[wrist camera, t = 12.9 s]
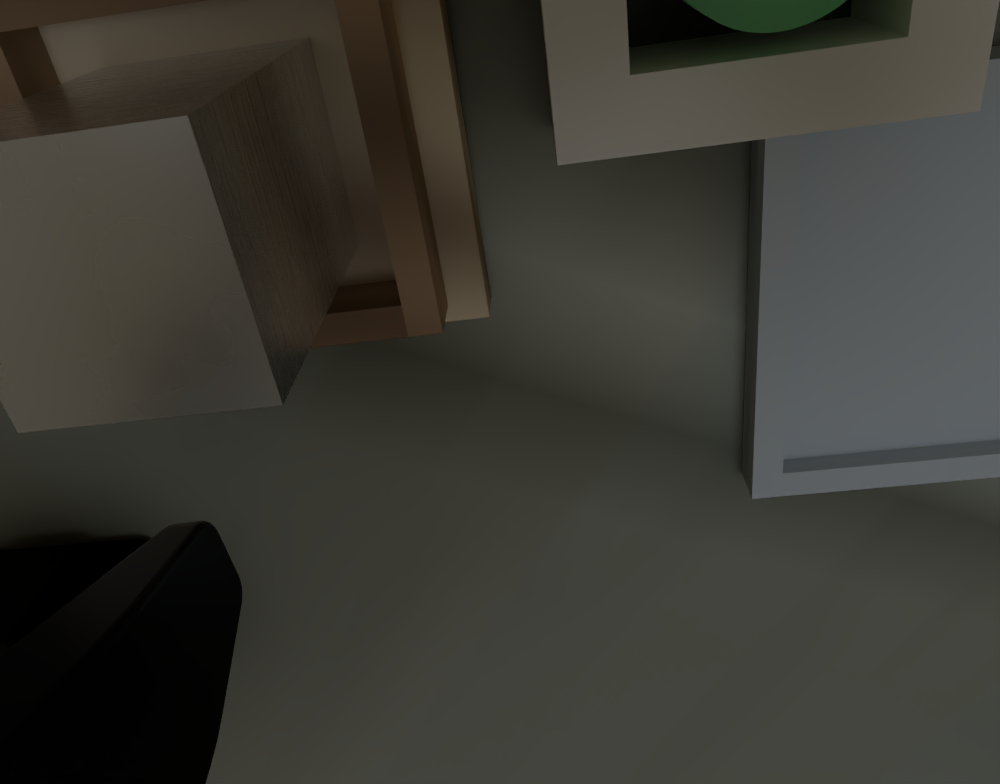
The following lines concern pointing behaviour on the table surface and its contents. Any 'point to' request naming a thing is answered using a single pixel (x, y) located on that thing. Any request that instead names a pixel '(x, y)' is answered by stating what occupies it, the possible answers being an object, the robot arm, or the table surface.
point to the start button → (764, 13)
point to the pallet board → (354, 121)
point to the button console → (758, 76)
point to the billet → (167, 237)
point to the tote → (875, 305)
